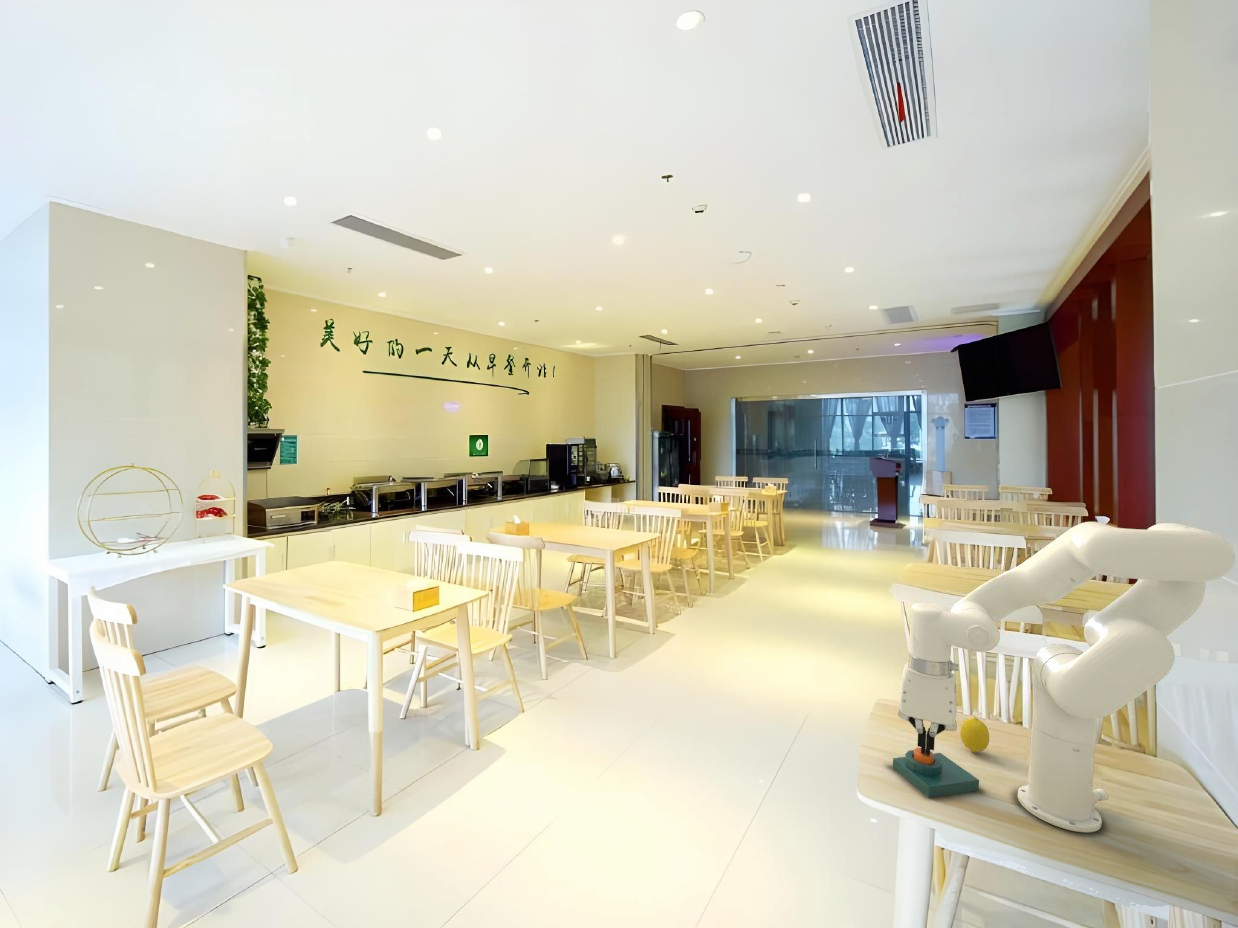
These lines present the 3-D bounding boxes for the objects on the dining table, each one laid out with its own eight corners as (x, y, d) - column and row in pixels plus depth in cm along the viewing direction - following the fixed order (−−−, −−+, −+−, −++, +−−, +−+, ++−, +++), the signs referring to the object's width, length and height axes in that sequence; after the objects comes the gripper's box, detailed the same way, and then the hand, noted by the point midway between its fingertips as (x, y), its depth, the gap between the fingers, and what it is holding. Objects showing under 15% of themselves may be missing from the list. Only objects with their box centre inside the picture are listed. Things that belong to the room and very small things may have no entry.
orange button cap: (924, 754, 118) (924, 746, 118) (937, 764, 114) (937, 756, 114) (909, 756, 117) (910, 748, 117) (922, 766, 114) (923, 757, 114)
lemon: (960, 742, 130) (962, 709, 130) (988, 751, 127) (990, 716, 126) (958, 753, 125) (960, 718, 125) (987, 762, 122) (989, 726, 122)
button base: (939, 762, 122) (940, 744, 121) (978, 790, 112) (980, 771, 112) (892, 767, 119) (893, 749, 119) (928, 797, 109) (929, 777, 109)
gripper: (971, 666, 114) (968, 754, 115) (891, 650, 122) (888, 733, 123) (972, 679, 108) (968, 771, 108) (886, 662, 116) (883, 748, 116)
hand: (925, 751), depth 116 cm, fingers closed
